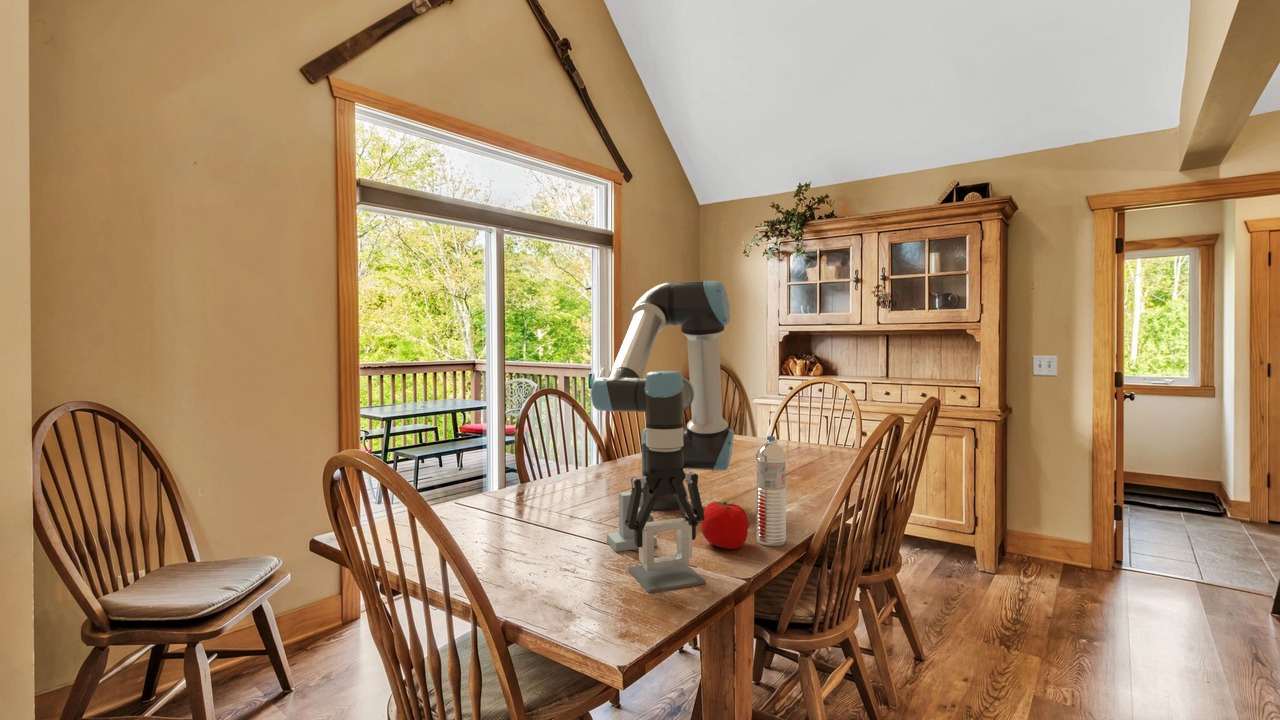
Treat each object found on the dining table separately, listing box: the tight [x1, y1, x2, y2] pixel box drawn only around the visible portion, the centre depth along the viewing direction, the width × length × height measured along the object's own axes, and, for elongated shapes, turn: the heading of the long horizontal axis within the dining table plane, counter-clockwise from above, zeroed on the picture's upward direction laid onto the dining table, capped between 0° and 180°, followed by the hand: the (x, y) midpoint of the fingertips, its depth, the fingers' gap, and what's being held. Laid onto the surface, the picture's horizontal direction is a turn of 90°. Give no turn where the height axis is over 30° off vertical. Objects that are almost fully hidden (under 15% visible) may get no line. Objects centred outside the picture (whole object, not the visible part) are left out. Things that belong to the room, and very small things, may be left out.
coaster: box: [627, 564, 707, 594], centre depth 121 cm, size 12×12×1 cm
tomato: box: [700, 501, 750, 550], centre depth 139 cm, size 11×13×10 cm
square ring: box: [642, 517, 690, 571], centre depth 121 cm, size 9×2×9 cm, turn 110°
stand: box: [606, 491, 658, 552], centre depth 137 cm, size 16×10×12 cm, turn 20°
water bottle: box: [755, 435, 787, 547], centre depth 141 cm, size 7×7×25 cm
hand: (665, 558), depth 121 cm, fingers closed on square ring, 9 cm apart
